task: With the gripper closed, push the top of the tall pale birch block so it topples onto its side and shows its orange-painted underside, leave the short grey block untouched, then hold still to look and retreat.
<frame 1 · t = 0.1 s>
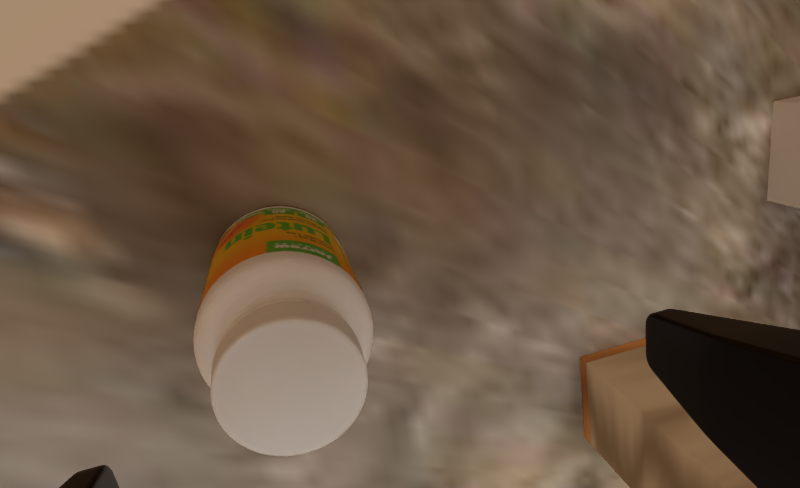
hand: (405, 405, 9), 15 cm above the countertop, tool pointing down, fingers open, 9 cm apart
birch block: (624, 385, 29), on the countertop
supplement bottle: (279, 264, 23), on the countertop
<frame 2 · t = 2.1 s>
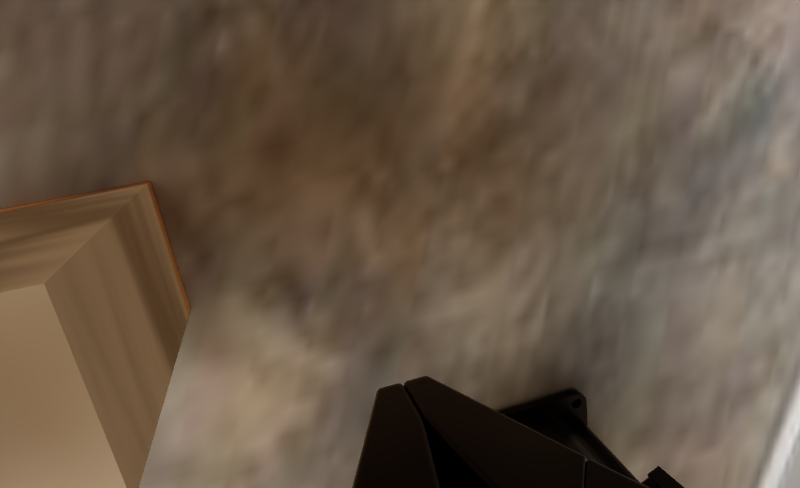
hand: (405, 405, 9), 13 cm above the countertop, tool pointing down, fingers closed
birch block: (98, 263, 19), on the countertop
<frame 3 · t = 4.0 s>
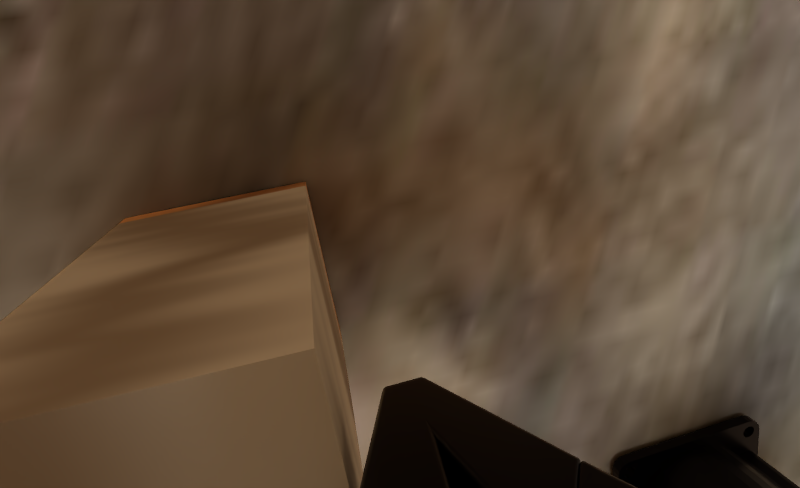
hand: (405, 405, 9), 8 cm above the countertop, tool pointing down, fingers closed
birch block: (240, 280, 16), on the countertop, touching gripper
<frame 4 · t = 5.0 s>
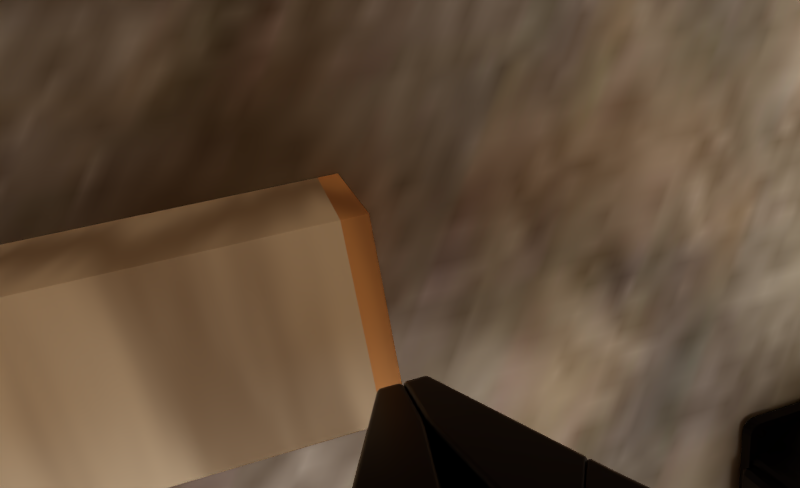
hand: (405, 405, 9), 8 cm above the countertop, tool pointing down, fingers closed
birch block: (369, 282, 14), point 2 cm above the countertop, tilted 90°
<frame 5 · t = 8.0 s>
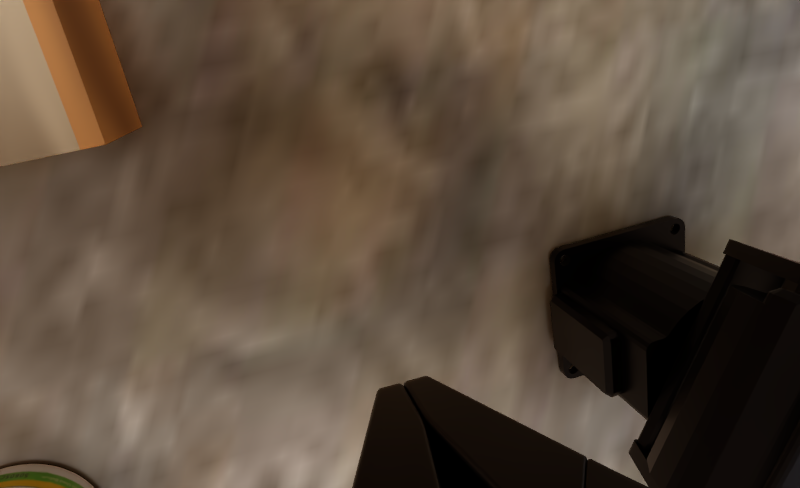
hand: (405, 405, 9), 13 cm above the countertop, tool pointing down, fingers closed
birch block: (95, 45, 15), point 2 cm above the countertop, tilted 90°
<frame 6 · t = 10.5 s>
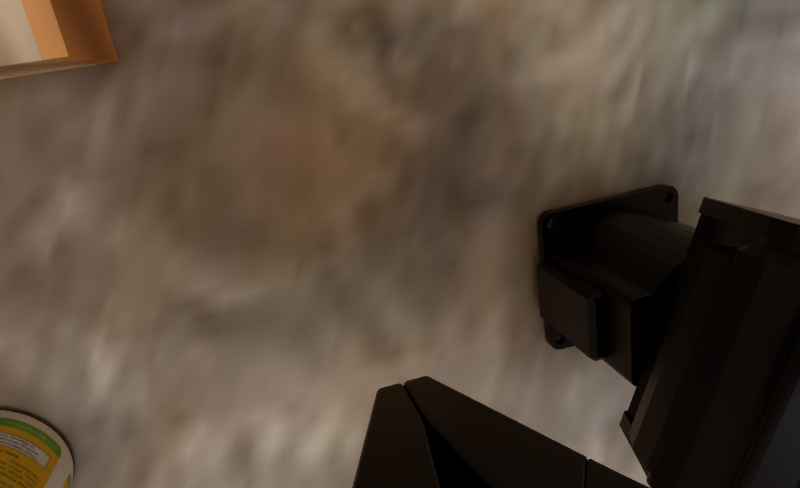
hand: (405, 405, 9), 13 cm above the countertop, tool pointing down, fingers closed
supplement bottle: (0, 463, 21), on the countertop
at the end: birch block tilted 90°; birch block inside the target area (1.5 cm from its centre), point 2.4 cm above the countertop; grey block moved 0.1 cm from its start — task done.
